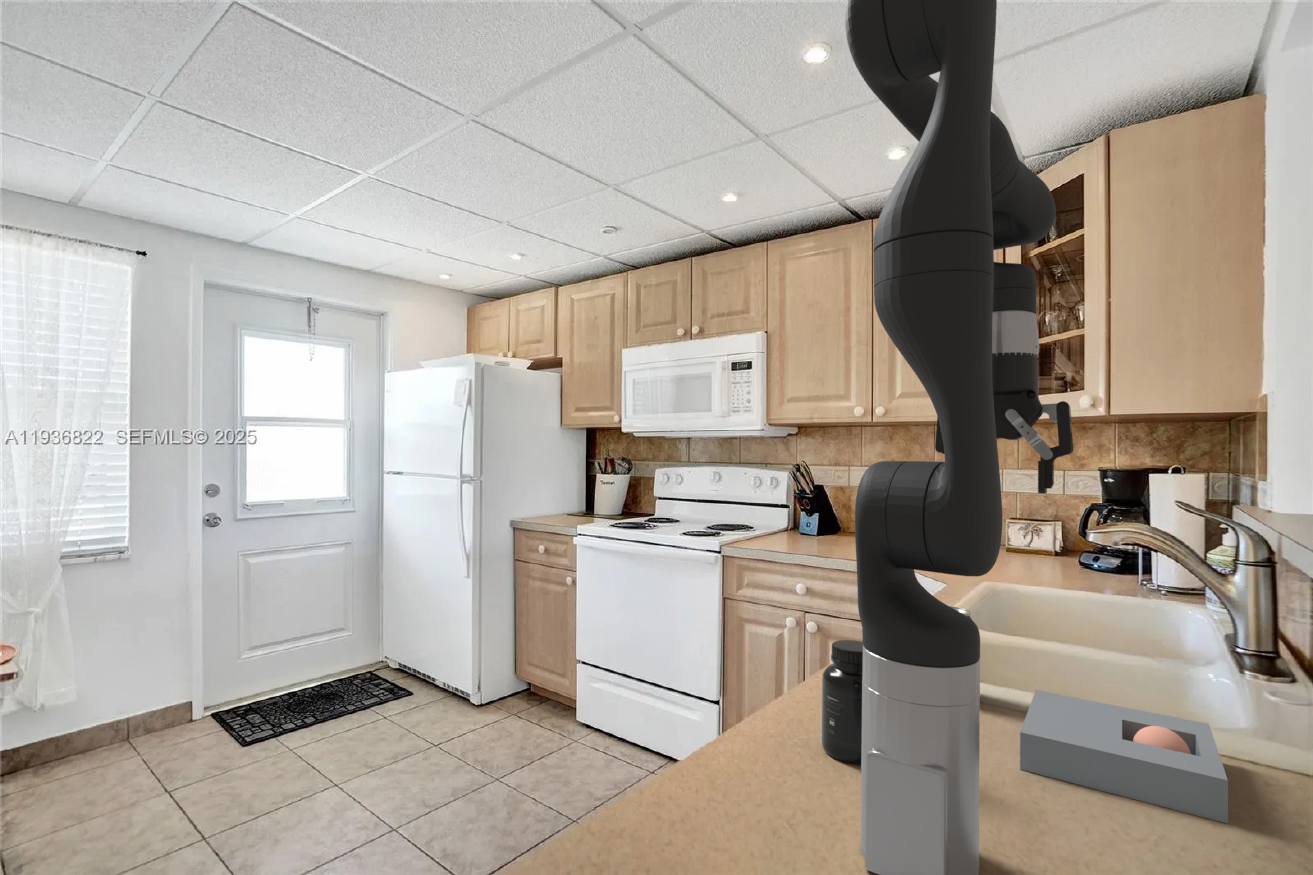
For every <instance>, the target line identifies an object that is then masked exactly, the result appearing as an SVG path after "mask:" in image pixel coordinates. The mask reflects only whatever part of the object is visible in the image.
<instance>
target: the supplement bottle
mask: <svg viewBox="0 0 1313 875" xmlns="http://www.w3.org/2000/svg"><path fill="white" fill-rule="evenodd" d="M830 660H831V662H832V663H831V664H829V665H828V666H826V668H825V669H824V670H823V672H822V677H821V678H822V680H821V685H822V686H821V746H822V748H823V750H824V752H825V753H827V755H829V756H830V757H831V758H833V759H835V760H837V761H840V762H843V763H845V764H846V763H847V764H850V765H851V764H852V765H861V747H862V673H863V643H862V641H860V640H851V639H840V640H836V641H835V640H834V642H832V644H831V654H830Z"/></svg>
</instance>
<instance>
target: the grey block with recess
mask: <svg viewBox="0 0 1313 875" xmlns="http://www.w3.org/2000/svg"><path fill="white" fill-rule="evenodd" d="M1149 726H1160V727H1164V728H1167V729H1169V730H1171V731H1173V732H1175V733H1176V734H1178V735H1179V736H1180V737H1181V738H1182V739H1183V740H1184V741H1185V743H1186V744H1187V746H1188V747H1189V750H1190V753H1191V754H1187V753H1182V752H1178V751H1173V750H1169V749H1164V748H1160V747H1155V746H1151V745H1146V744H1141V743H1137V742H1133V738H1134V736H1135V734H1136V733H1137V732H1138V731H1139V730H1141V729H1142V728H1145V727H1149ZM1019 736H1020V737H1019V753H1020V754H1019V756H1020V757H1019V769H1020V770H1021V771H1025V772H1029V773H1032V774H1037V775H1040V776H1043V777H1048V778H1052V779H1056V780H1058V781H1059V780H1060V781H1063V782H1068V783H1070V784H1076V785H1079V786H1082V787H1086V788H1090V789H1094V790H1098V791H1100V792H1101V791H1102V792H1106V793H1109V794H1113V795H1116V796H1121V797H1125V798H1127V799H1128V798H1129V799H1132V800H1136V801H1139V802H1144V803H1147V804H1152V805H1156V806H1159V807H1164V808H1167V809H1171V810H1174V811H1179V812H1182V813H1186V814H1190V815H1193V816H1197V817H1201V818H1204V819H1205V818H1206V819H1209V820H1213V821H1217V822H1220V823H1224V824H1229V780H1228V777H1227V776H1228V775H1227V773H1226V771H1225V768H1224V765H1223V762H1222V759H1221V756H1220V752H1219V750H1218V747H1217V744H1216V741H1215V738H1214V736H1213V732H1212V729H1211V726H1210V724H1209V723H1207V722H1206V723H1205V722H1201V721H1197V720H1196V721H1195V720H1192V719H1187V718H1181V717H1175V716H1171V715H1167V714H1166V715H1165V714H1162V713H1161V714H1160V713H1155V712H1150V711H1145V710H1140V709H1134V708H1129V707H1125V706H1119V705H1114V704H1109V703H1105V702H1099V701H1094V700H1089V699H1084V698H1080V697H1079V698H1078V697H1074V696H1070V695H1069V696H1068V695H1063V694H1058V693H1054V692H1048V691H1045V690H1044V691H1043V690H1038V689H1035V691H1034V694H1033V697H1032V699H1031V702H1030V705H1029V708H1028V710H1027V712H1026V715H1025V718H1024V721H1023V723H1022V726H1021V729H1020V734H1019Z"/></svg>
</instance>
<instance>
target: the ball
mask: <svg viewBox="0 0 1313 875" xmlns="http://www.w3.org/2000/svg"><path fill="white" fill-rule="evenodd" d="M1133 742H1137V743H1141V744H1146V745H1151V746H1155V747H1160V748H1164V749H1169V750H1173V751H1178V752H1182V753H1187V754H1191V753H1190V750H1189V747H1188V746H1187V744H1186V743H1185V741H1184V740H1183V739H1182V738H1181V737H1180V736H1179V735H1178V734H1176V733H1175V732H1173V731H1171V730H1169V729H1167V728H1164V727H1160V726H1149V727H1145V728H1142V729H1141V730H1139V731H1138V732H1137V733H1136V734H1135V736H1134V738H1133Z"/></svg>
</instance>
